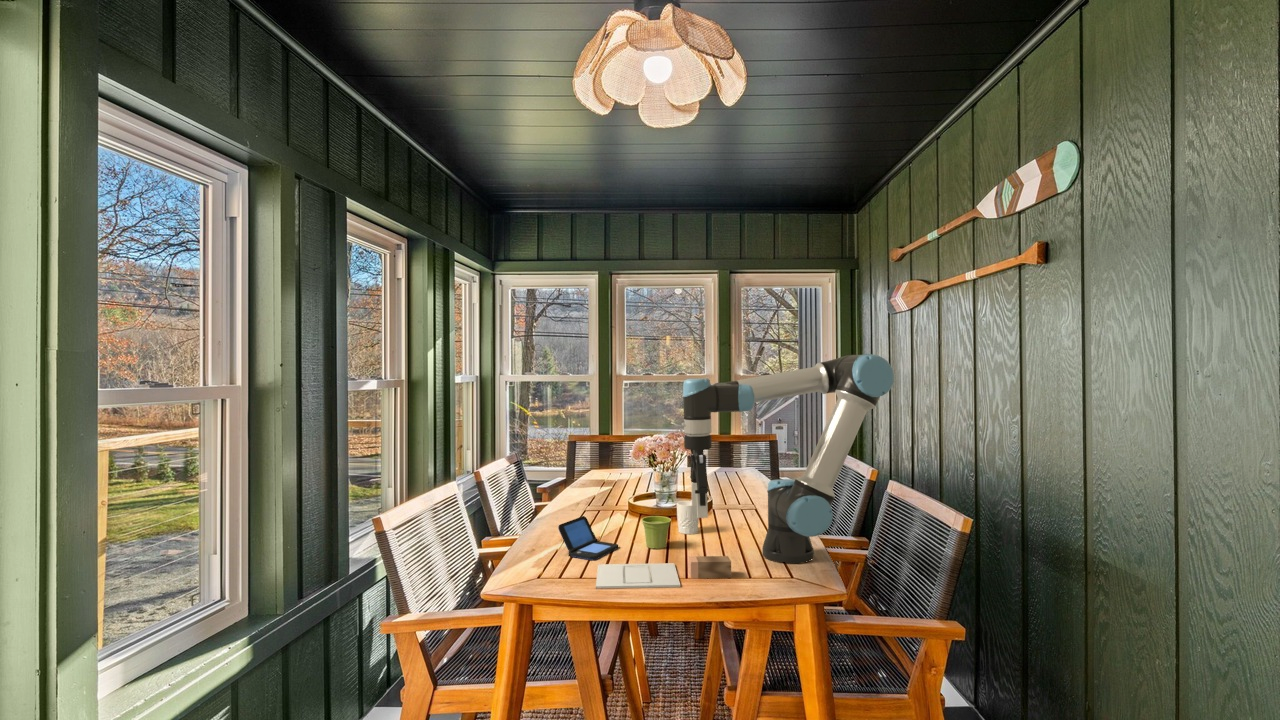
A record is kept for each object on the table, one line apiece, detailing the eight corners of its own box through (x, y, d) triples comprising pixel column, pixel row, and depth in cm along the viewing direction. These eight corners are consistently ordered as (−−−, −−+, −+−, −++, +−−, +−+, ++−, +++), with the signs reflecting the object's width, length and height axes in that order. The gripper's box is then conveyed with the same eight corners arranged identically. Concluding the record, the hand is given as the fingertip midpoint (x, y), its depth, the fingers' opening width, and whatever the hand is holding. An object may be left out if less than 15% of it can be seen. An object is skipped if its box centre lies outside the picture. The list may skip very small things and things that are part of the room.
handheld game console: (593, 562, 189) (593, 530, 189) (556, 555, 195) (556, 525, 195) (620, 548, 202) (620, 519, 202) (584, 543, 209) (584, 514, 209)
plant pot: (660, 540, 210) (660, 514, 210) (677, 547, 202) (676, 520, 202) (636, 545, 205) (635, 518, 205) (652, 552, 197) (652, 524, 197)
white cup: (672, 530, 222) (672, 502, 222) (691, 527, 226) (691, 499, 226) (684, 536, 215) (684, 506, 215) (704, 533, 219) (703, 503, 219)
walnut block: (728, 572, 178) (728, 556, 178) (731, 578, 173) (731, 561, 173) (688, 572, 178) (688, 556, 178) (690, 578, 173) (690, 562, 173)
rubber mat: (674, 565, 184) (674, 563, 184) (680, 587, 166) (680, 584, 166) (597, 566, 184) (597, 564, 184) (595, 588, 166) (595, 586, 166)
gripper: (680, 429, 188) (681, 501, 188) (688, 440, 163) (690, 523, 163) (705, 429, 189) (707, 501, 189) (717, 439, 164) (719, 522, 164)
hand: (699, 511), depth 176 cm, fingers open, 13 cm apart
